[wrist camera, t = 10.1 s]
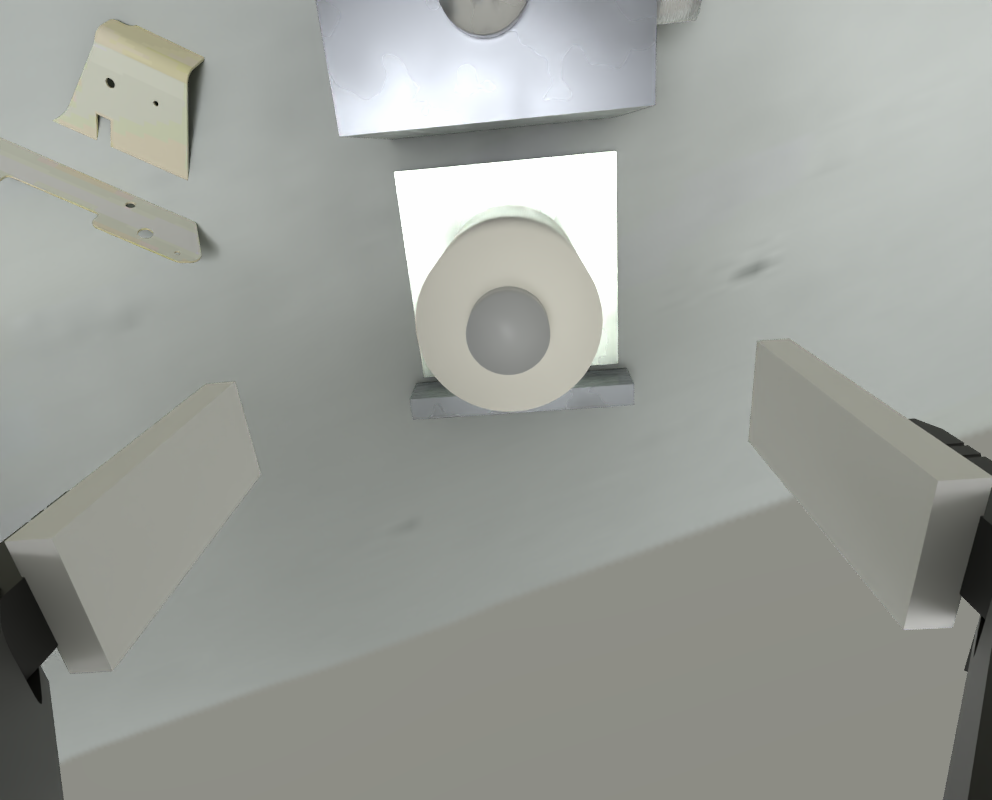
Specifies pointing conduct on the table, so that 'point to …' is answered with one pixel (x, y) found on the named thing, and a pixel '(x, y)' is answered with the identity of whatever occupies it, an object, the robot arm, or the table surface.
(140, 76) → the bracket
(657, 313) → the table surface
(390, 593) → the table surface
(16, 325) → the table surface
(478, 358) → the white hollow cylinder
